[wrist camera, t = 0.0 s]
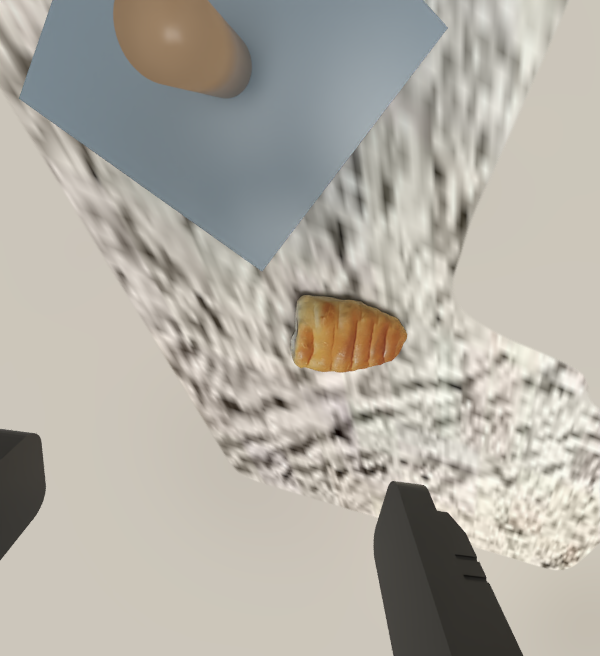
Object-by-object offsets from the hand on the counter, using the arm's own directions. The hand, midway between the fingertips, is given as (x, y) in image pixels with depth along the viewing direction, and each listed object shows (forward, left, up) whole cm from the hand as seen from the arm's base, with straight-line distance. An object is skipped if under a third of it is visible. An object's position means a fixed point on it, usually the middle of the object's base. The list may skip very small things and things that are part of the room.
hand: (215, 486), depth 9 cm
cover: (-6, -7, -22) cm, 24 cm away
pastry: (+3, +9, -23) cm, 25 cm away
